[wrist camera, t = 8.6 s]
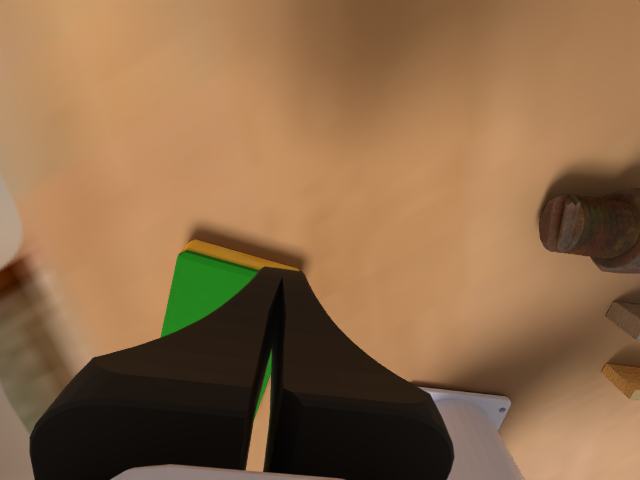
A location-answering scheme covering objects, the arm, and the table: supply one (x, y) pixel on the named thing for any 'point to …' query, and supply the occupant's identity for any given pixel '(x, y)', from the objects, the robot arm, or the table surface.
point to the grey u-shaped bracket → (626, 317)
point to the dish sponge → (210, 285)
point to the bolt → (595, 229)
